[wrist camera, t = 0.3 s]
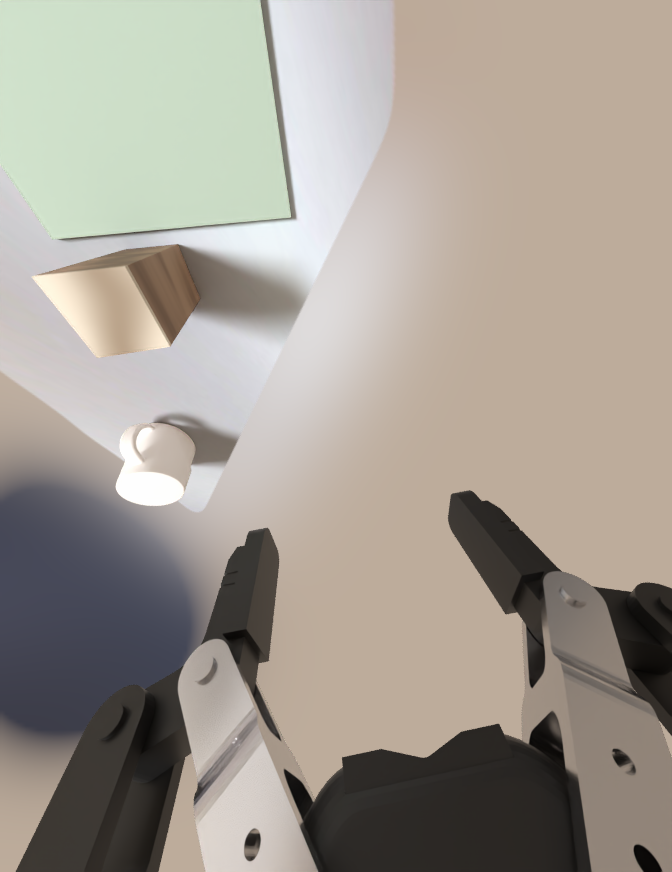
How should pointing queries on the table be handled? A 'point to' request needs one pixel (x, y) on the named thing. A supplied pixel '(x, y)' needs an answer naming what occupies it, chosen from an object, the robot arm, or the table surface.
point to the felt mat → (139, 114)
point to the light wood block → (124, 298)
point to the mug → (155, 464)
